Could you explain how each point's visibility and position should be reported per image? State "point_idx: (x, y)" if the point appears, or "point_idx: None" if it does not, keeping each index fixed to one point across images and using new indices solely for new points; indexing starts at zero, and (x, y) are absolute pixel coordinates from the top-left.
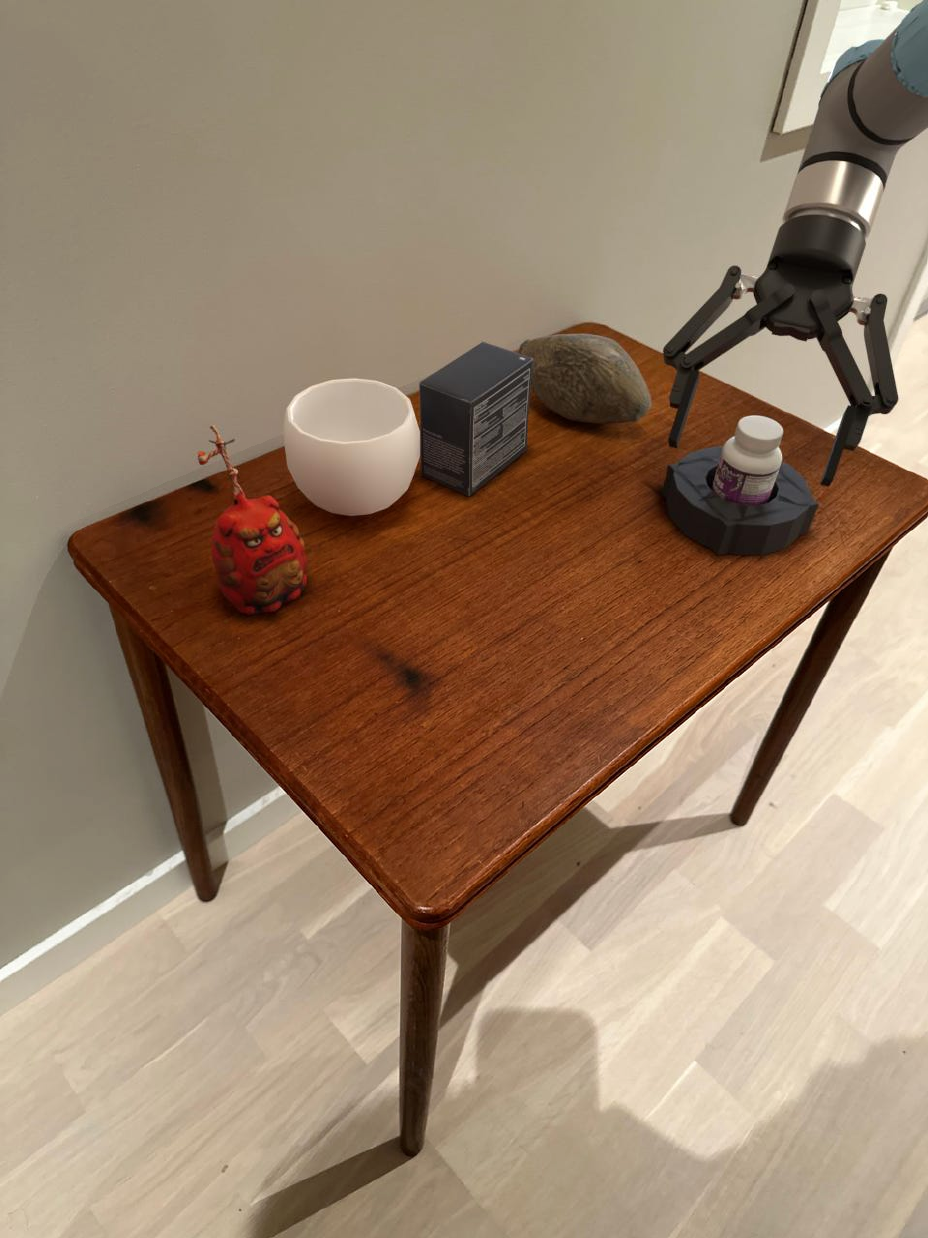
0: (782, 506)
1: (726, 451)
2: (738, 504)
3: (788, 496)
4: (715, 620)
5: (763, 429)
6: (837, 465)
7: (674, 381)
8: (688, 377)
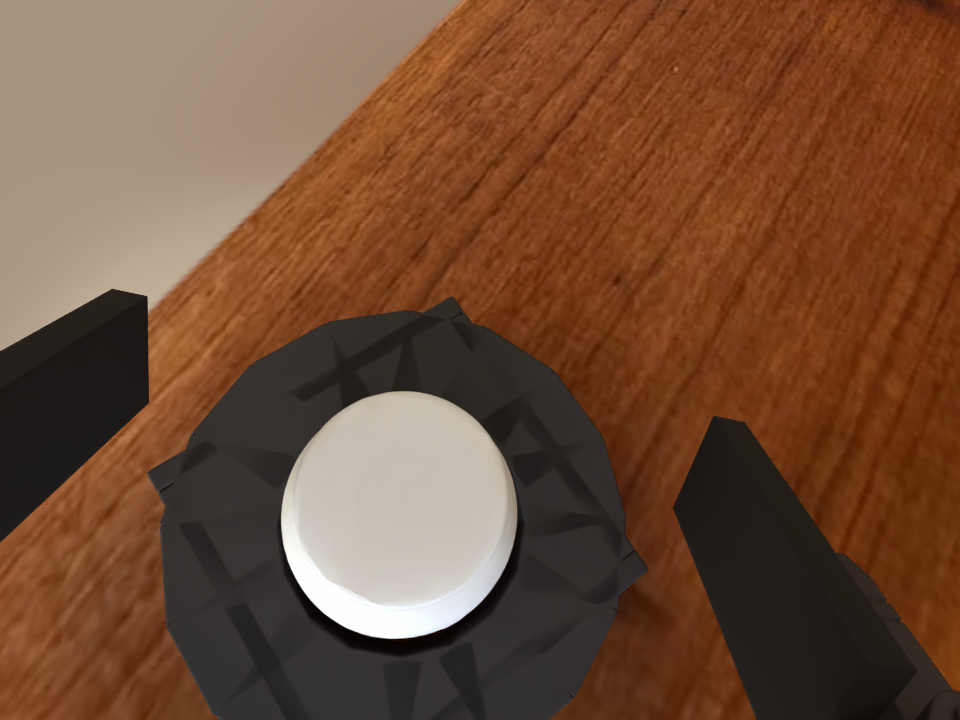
0: (278, 424)
1: (507, 472)
2: None
3: (249, 485)
4: (445, 141)
5: (392, 468)
6: (76, 309)
7: (916, 643)
8: (882, 626)
